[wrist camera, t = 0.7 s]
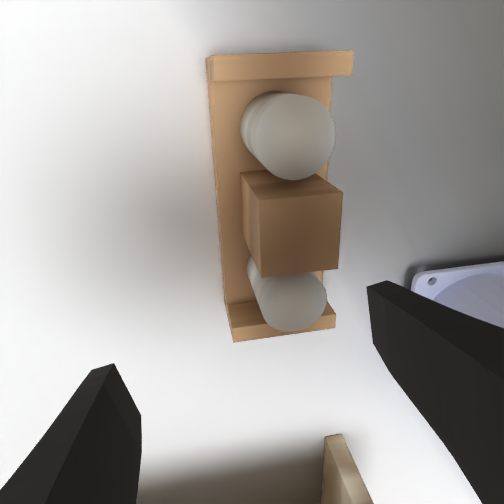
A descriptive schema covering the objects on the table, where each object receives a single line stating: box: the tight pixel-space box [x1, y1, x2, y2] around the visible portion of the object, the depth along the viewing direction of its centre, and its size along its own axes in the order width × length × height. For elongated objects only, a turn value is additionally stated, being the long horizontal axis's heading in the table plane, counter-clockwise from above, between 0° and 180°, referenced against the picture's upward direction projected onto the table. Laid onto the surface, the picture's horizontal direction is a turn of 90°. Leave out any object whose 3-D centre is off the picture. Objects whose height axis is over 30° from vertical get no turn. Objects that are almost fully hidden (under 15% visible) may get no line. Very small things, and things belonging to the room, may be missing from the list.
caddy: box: [206, 50, 354, 343], centre depth 17 cm, size 5×12×6 cm, turn 2°
